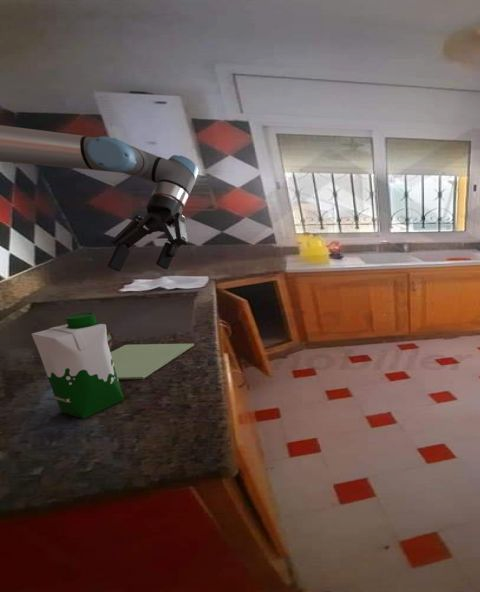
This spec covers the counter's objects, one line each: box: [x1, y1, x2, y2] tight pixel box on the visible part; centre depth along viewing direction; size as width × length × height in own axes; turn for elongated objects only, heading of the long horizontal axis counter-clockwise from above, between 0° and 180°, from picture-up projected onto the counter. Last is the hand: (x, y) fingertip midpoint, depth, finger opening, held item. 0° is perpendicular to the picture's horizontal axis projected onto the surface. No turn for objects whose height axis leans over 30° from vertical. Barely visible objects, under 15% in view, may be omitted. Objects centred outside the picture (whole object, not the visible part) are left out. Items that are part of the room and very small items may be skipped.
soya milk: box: [31, 312, 125, 420], centre depth 65 cm, size 9×9×20 cm
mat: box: [110, 343, 195, 380], centre depth 88 cm, size 20×20×1 cm
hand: (137, 267), depth 80 cm, fingers open, 13 cm apart
